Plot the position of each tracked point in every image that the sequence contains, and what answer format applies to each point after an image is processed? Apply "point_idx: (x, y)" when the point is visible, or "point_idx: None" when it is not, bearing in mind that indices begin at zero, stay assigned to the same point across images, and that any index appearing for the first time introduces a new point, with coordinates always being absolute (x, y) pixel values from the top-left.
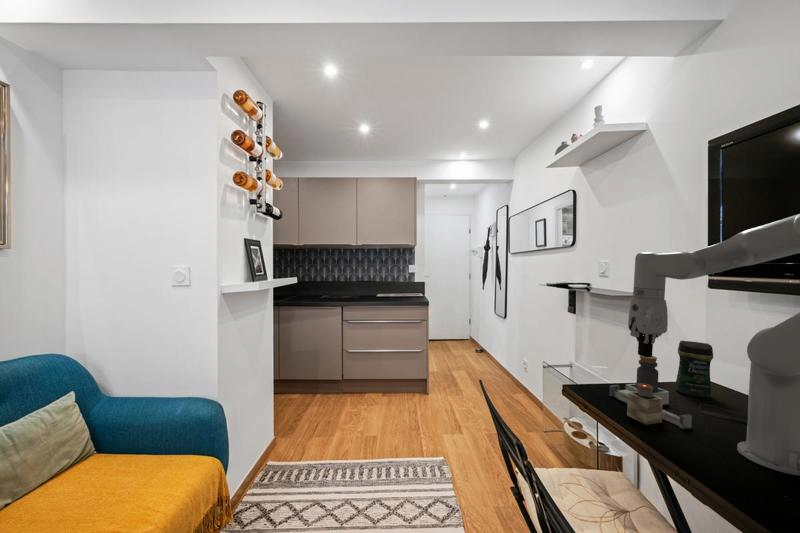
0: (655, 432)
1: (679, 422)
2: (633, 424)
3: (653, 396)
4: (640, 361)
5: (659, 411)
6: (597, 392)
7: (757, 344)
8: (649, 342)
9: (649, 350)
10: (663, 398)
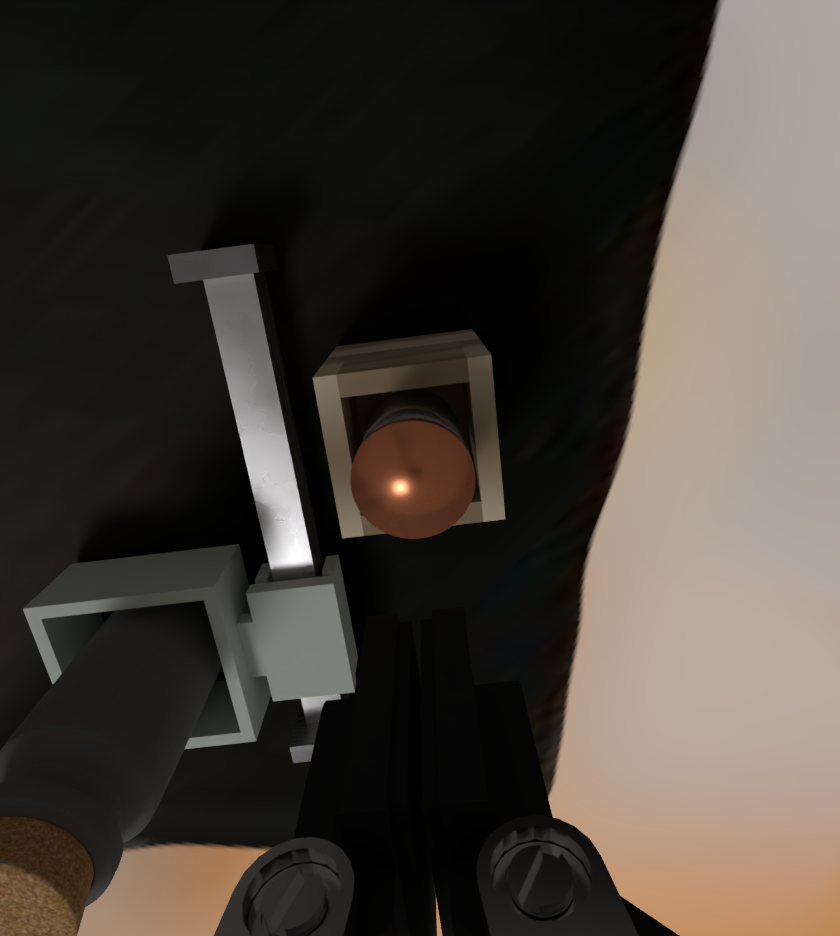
0: (500, 227)
1: (272, 269)
2: (549, 343)
3: (346, 434)
4: (104, 875)
5: (352, 356)
6: None
7: None
8: (378, 889)
9: (442, 684)
10: (97, 579)
